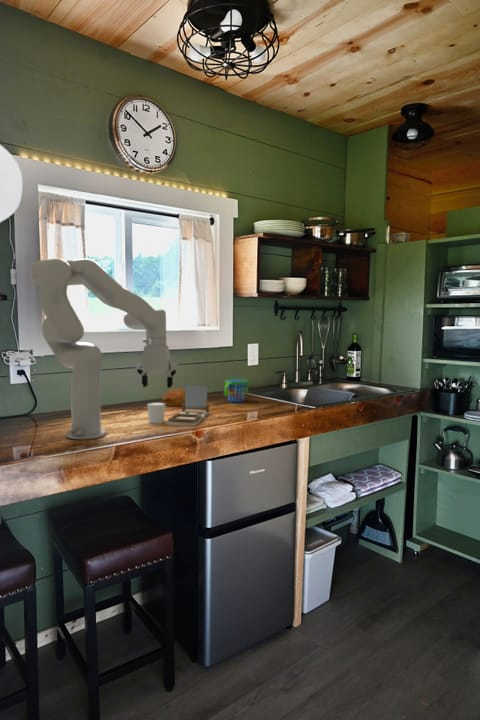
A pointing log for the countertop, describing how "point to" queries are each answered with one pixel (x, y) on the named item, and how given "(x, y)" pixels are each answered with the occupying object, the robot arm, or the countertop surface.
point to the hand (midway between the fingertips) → (157, 386)
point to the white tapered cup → (156, 412)
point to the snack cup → (236, 389)
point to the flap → (196, 397)
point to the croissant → (174, 397)
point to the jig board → (188, 417)
